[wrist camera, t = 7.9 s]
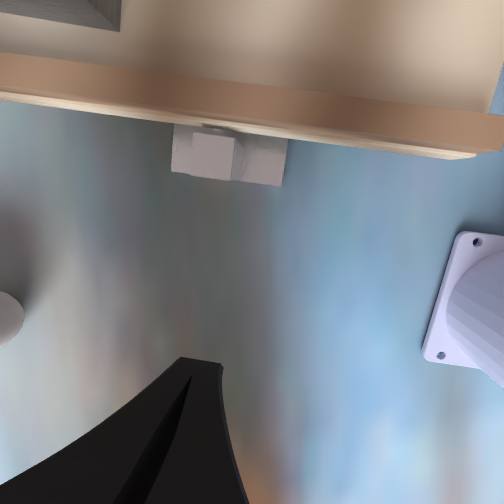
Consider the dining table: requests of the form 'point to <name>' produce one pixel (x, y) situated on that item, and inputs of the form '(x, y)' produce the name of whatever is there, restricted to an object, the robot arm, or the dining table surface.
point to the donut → (9, 318)
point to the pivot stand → (228, 154)
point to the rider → (69, 11)
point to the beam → (278, 69)
